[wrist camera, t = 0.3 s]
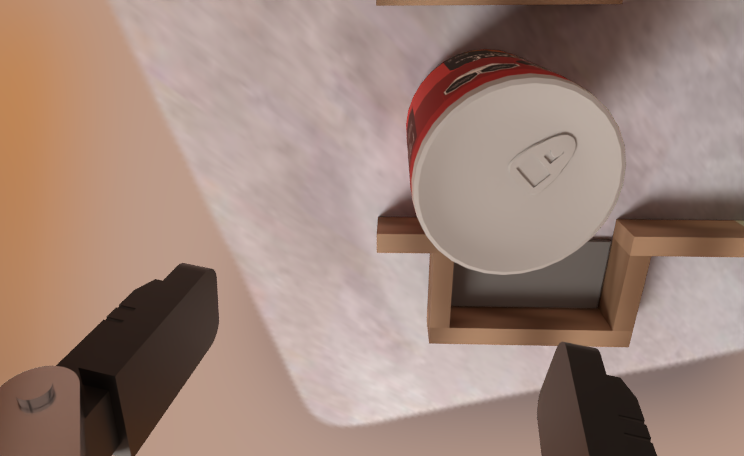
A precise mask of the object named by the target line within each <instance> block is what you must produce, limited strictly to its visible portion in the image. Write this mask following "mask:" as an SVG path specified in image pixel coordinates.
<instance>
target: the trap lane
mask: <svg viewBox="0 0 744 456" xmlns="http://www.w3.org/2000/svg"><path fill="white" fill-rule="evenodd" d="M622 2H623V0H376V6H381V5H549V4H622ZM377 253H430V263H429V285H428V306H427V327H428V337H429V343H438V344H490V345H541V346H558V345H559V343H560V342H567V343H572V344H577V345H582V346H593V347H629V344H630V340H631V336H632V332H633V328H634V324H635V320H636V316H637V312H638V308H639V304H640V300H641V296H642V292H643V288H644V284H645V280H646V276H647V272H648V268H649V264H650V260H651V256H690V257H744V226H743V225H741V224H740V223H738V222H736V221H735V220H644V219H616V224H615V229H614V234H613V238H612V243H611V248H610V253H609V258H608V262H607V267H606V272H605V277H604V281H603V286H602V291H601V296H600V300H599V305H598V308H549V307H488V306H451V296H452V282H453V267H454V262H453V261H451V260H450V259H449V258H448V257H446V256H445V255H444V254H443V253H441V252H440V251H439V250H438V249H437V248H436V247H435V246H434V245H433V243H432V242H431V241H430V240H429V239H428V237H427V236H426V234H425V232H424V230H423V228H422V226H421V224H420V222H419V220H418V218H417V217H378V225H377Z"/></svg>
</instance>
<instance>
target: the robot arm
mask: <svg viewBox="0 0 744 456" xmlns="http://www.w3.org/2000/svg"><path fill="white" fill-rule="evenodd" d="M218 324H219V313H218V295H217V277H216V273H215V271H214V270H213V269H210V268H205V267H200V266H195V265H190V264H185V263H182V264H179V265H178V266H177V267H176V268H175V269H174V270H173V271H172V272H171V273H170V274H169V275H168V276H167V277H166V278H165V279H164V280H163V281H161V280H156V279H155V280H153V281H151V282H149V283H147V284H145V285H143V286H141V287H139V288H137V289H135V290H134V291H133V292H132V293H131V294H130V295H129V296H128V297H127V298H126V299H125V300H124V301H122V302H121V304H120V305H119V307H118V308H115V309H114V310H113V311H112V312H111V313H110V314H109V315H108V316H107V319H106V320H103V321H102V322H101V323H100V324H99V325H98V326H97V327H96V328H95V329H94V330H93V331H92V332H90V333H89V334H88V335H87V336H86V337H85V338H84V339H83V340H82V341H81V342H80V343H79V344H78V345H77V346H76V347H75V348H74V349H73V350H72V351H71V352H70V353H69V354H68V355H67V356H66V357H65V358H64V359H62V360H61V361H60V362H59V364H58V365H56V366H44V367H38V368H34V369H31V370H28V371H25V372H22V373H21V374H18V375H16V376H14V377H13V378H11V379H9V380H8V381H7V382H5V383H4V384H3V385H2V386H1V387H0V456H112V455H113V456H135V455H136V454H137V452H138V451H139V449H140V448H141V446H142V445H143V443H144V442H145V441H146V439H147V438H148V436H149V435H150V433H151V432H152V430H153V429H154V428H155V426H156V425H157V423H158V422H159V420H160V419H161V418H162V416H163V414H164V413H165V412H166V410H167V409H168V407H169V406H170V404H171V403H172V402H173V400H174V399H175V397H176V396H177V394H178V393H179V391H180V390H181V389H182V387H183V386H184V384H185V383H186V381H187V380H188V379H189V377H190V376H191V374H192V373H193V371H194V370H195V368H196V367H197V365H198V364H199V363H200V361H201V360H202V358H203V357H204V355H205V354H206V352H207V351H208V350H209V348H210V347H211V345H212V343H213V341H214V339H215V336H216V334H217V329H218ZM537 420H538V428H539V436H540V445H541V453H542V456H657V454H656V452H655V449H654V446H653V444H652V443H651V442H650V440H651V437H650V434H649V432H648V429H647V426H646V425H645V424H644V417H643V414H642V411H641V409H640V406H639V403H638V400H637V398H636V397H635V396H634V394H633V393H632V392H631V390H630V389H629V388H628V387H627V386H626V384H625V383H624V382H623V380H622V379H621V378H619V377H614V376H609V375H606V371H605V368H604V365H603V361H602V358H601V355H600V352H599V350H598V349H596V348H592V347H587V346H582V345H577V344H572V343H567V342H560V343H559V345H558V346H557V349H556V351H555V354H554V356H553V359H552V362H551V364H550V367H549V370H548V372H547V375H546V378H545V380H544V383H543V385H542V388H541V391H540V395H539V400H538V408H537Z"/></svg>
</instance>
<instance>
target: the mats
mask: <svg viewBox="0 0 744 456" xmlns="http://www.w3.org/2000/svg"><path fill="white" fill-rule="evenodd" d="M610 243H611V242H610V241H609V240H589V241H587V242H586V243H585V244H584V245H583V246H582V247H580V248H579V249H578V250H577V251H575V252H573V253H572V254H570V255H569V256H567V257H565V258H564V259H562V260H561V261H558V262H556V263H554V264H551V265H549V266H547V267H544V268H542V269H538V270H534V271H530V272H526V273H520V274H508V275H499V274H488V273H482V272H479V271H475V270H471V269H468V268H466V267H464V266H462V265H460V264H458V263H456V262H454V267H453V282H452V296H451V306H492V307H553V308H597V306H598V301H599V296H600V291H601V286H602V282H603V277H604V272H605V267H606V263H607V258H608V253H609V248H610Z"/></svg>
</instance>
